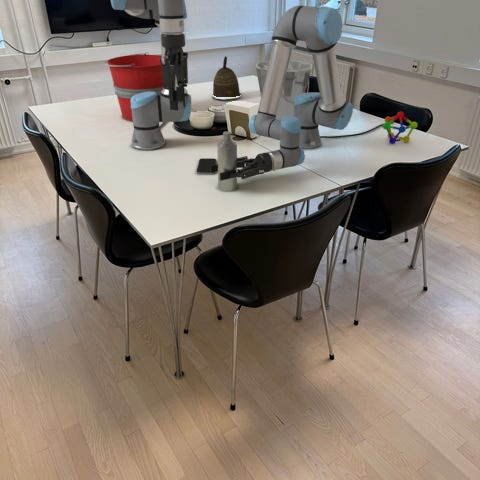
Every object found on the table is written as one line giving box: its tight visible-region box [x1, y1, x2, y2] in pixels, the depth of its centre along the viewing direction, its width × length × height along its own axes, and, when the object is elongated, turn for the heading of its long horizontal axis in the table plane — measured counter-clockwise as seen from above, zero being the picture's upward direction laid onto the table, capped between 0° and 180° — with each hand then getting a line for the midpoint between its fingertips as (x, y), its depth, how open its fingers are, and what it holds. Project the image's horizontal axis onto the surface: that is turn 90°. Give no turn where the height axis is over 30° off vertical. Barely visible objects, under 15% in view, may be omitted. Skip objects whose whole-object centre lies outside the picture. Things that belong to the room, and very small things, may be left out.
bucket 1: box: [103, 52, 164, 122], centre depth 240 cm, size 35×35×30 cm
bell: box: [212, 56, 242, 97], centre depth 278 cm, size 19×26×20 cm
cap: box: [178, 100, 184, 109], centre depth 151 cm, size 4×4×2 cm
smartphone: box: [196, 157, 217, 175], centre depth 184 cm, size 7×1×15 cm
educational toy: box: [382, 110, 418, 145], centre depth 207 cm, size 16×13×15 cm
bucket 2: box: [255, 59, 313, 120], centre depth 236 cm, size 30×30×28 cm
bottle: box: [216, 131, 238, 192], centre depth 163 cm, size 7×7×21 cm
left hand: (177, 107), depth 151 cm, fingers closed on cap, 4 cm apart
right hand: (215, 173), depth 163 cm, fingers closed on bottle, 7 cm apart
